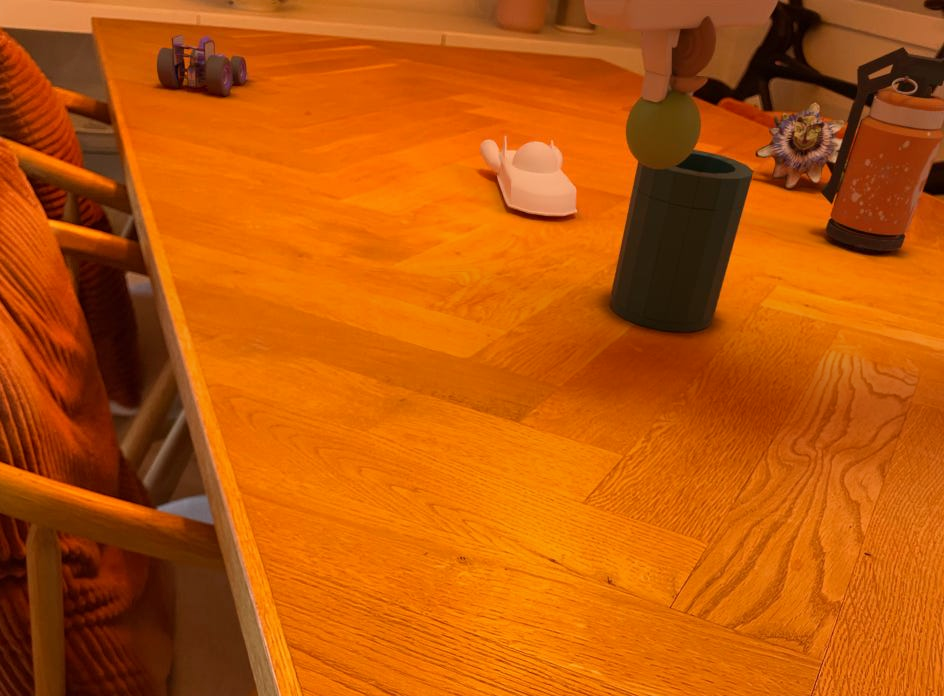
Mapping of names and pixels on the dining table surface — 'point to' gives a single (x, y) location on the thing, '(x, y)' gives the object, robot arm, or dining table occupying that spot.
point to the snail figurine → (673, 105)
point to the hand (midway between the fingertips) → (666, 99)
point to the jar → (679, 241)
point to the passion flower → (803, 146)
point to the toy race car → (200, 67)
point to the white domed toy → (532, 178)
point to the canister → (886, 152)
